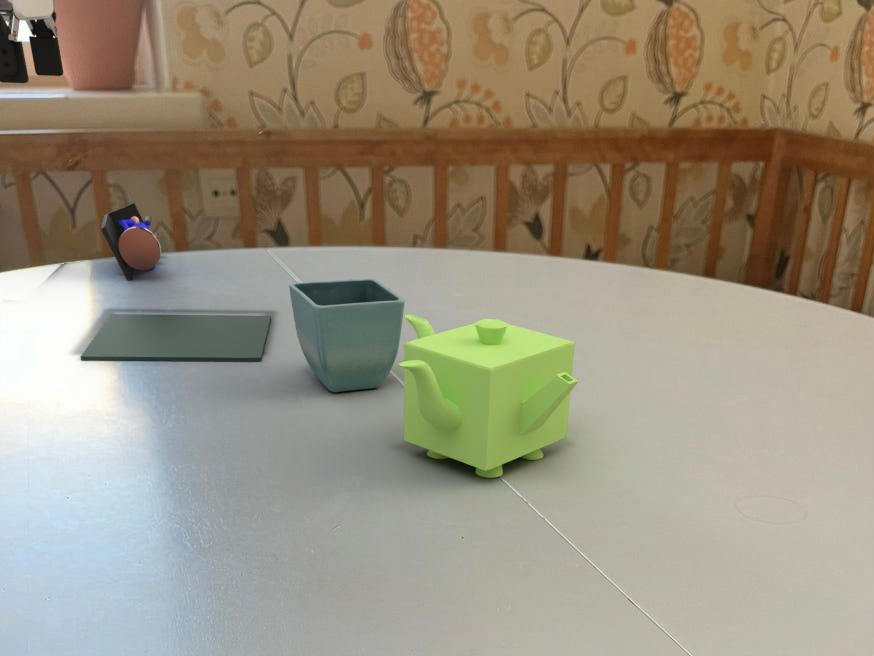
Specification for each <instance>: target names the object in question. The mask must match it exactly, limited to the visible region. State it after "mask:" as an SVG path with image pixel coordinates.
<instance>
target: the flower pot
mask: <svg viewBox="0 0 874 656" xmlns="http://www.w3.org/2000/svg"><path fill="white" fill-rule="evenodd" d="M288 288H289V295H290V302H291V308H292V313H293V314H292V315H293V321H294V327H295V331H296V336H297V340H298V343H299V346H300V349H301V352H302V354H303V356H304V358H305V360H306V362H307V364H308V366H309V367H310V369H311V371H312V373H313V374H314V376H315V377H316V379H318V381H320V382H321V383H322V385H324V386H325V388H326V389H327V390H328V391H330V392H332V393H341V392H348V391H356V390H367V389H376V388H379V387H381V385H382V384H383V383H384V381H385V380H386V379H387V377H388V375H389V373H390V372H391V369H392V368H393V366H394V363H395V361H396V359H397V355H398V351H399V347H400V341H401V333H402V327H403V318H404V310H405V302H406V299H405V298H404V297H402V296H401V295H399V294H398V293H396V292H394V291H393V290H391V288H389V287H387V286H386V285H384V283H381V282H380V281H379V280H377V279H375V278H357V279H356V278H355V279H340V280H339V279H338V280H324V281H323V280H322V281H321V280H320V281H305V282H304V281H303V282H302V281H301V282H293V283H288Z"/></svg>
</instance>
